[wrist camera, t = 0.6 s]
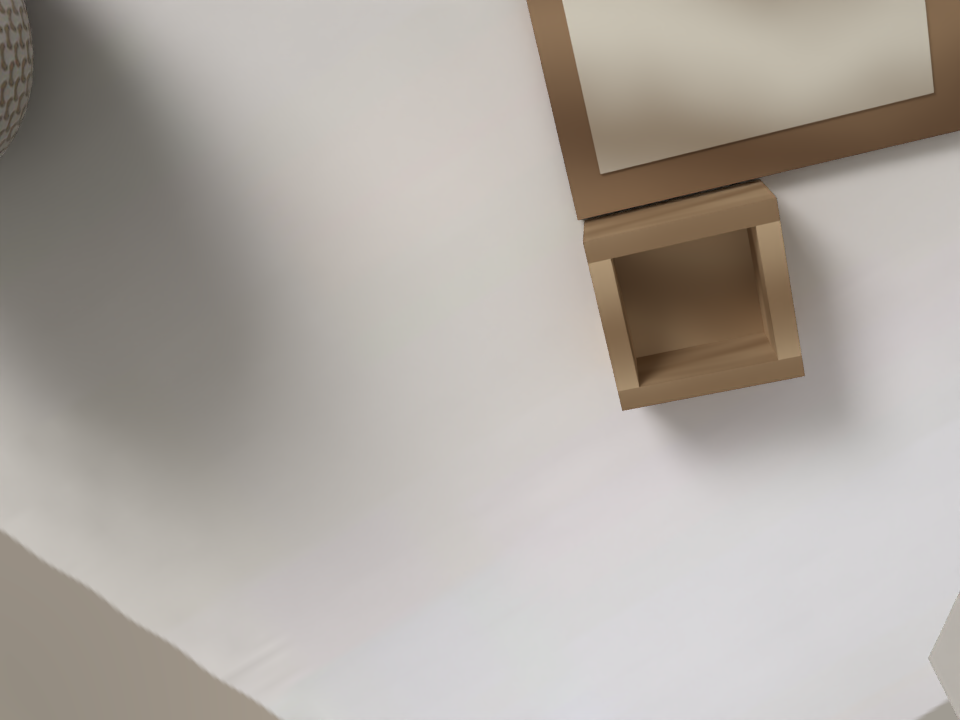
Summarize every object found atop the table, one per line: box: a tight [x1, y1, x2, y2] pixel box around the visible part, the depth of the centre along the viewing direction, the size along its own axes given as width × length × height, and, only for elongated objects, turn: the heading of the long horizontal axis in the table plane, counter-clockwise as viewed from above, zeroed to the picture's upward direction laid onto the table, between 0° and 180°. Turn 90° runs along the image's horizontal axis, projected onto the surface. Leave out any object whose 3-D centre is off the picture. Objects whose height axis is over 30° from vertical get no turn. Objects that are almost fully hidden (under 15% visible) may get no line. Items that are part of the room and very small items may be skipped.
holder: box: [583, 179, 805, 411], centre depth 34 cm, size 7×7×3 cm
